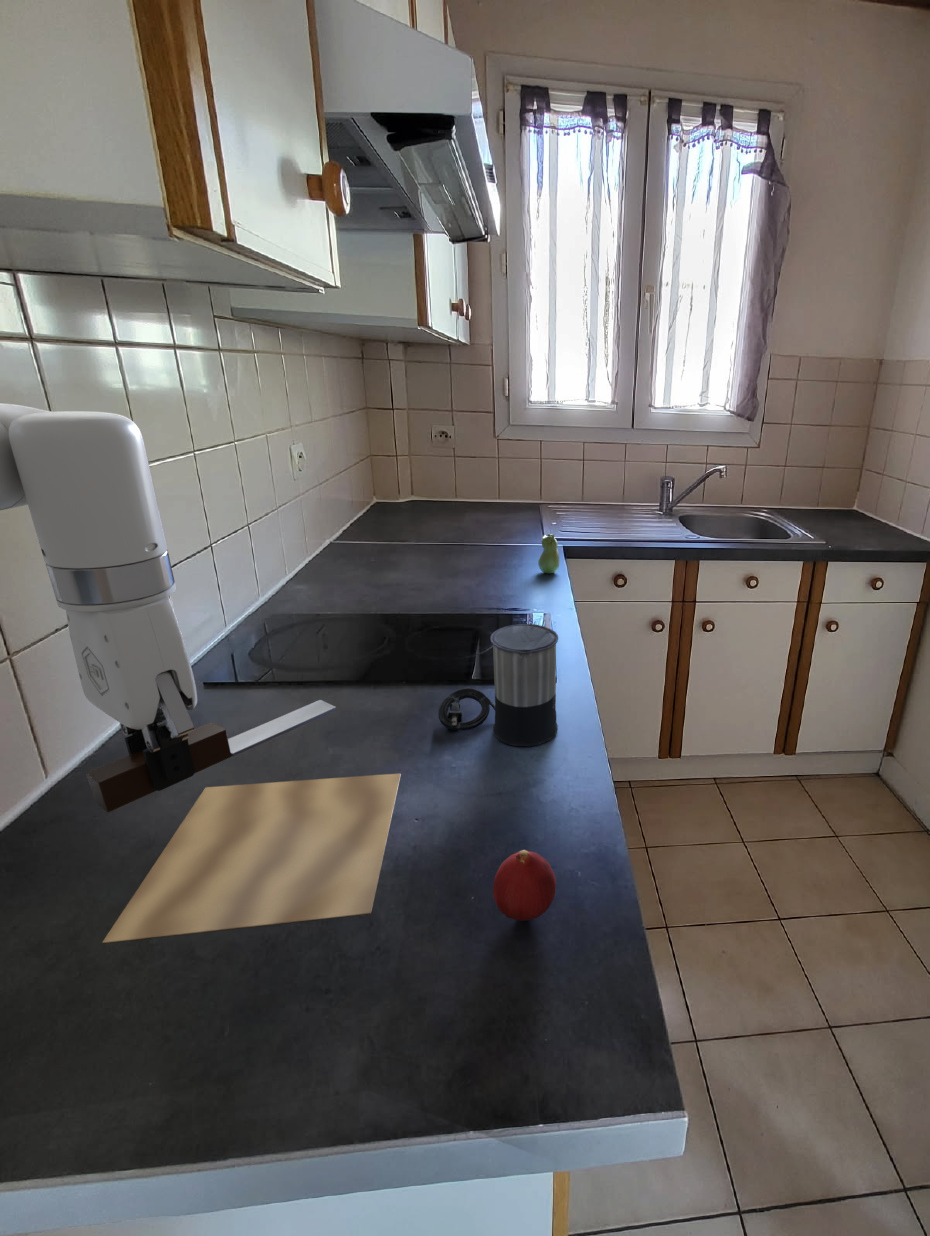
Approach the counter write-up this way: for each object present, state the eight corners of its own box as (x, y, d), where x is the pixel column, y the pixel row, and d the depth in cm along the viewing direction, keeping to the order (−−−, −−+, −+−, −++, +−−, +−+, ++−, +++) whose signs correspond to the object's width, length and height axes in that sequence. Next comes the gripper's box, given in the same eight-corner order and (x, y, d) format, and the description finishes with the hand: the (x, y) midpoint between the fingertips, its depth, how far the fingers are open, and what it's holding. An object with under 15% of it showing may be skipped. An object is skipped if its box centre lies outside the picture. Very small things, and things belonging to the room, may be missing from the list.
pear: (558, 576, 159) (558, 537, 156) (537, 575, 159) (537, 536, 156) (559, 570, 165) (560, 532, 161) (539, 569, 164) (539, 531, 161)
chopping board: (105, 955, 55) (100, 943, 55) (207, 797, 75) (205, 787, 75) (372, 925, 59) (371, 913, 59) (402, 783, 79) (401, 772, 79)
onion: (511, 887, 64) (509, 822, 61) (564, 901, 63) (565, 836, 60) (483, 931, 59) (480, 863, 56) (541, 948, 58) (540, 879, 55)
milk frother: (567, 740, 90) (568, 644, 84) (454, 764, 83) (448, 662, 78) (535, 695, 102) (534, 608, 96) (434, 713, 95) (427, 621, 90)
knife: (108, 814, 52) (99, 783, 51) (93, 801, 53) (84, 771, 52) (336, 710, 69) (333, 686, 68) (320, 703, 70) (317, 678, 69)
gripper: (14, 569, 51) (75, 764, 57) (104, 615, 43) (164, 835, 50) (122, 550, 57) (167, 729, 63) (219, 587, 49) (259, 787, 56)
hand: (165, 774), depth 56 cm, fingers closed on knife, 2 cm apart
